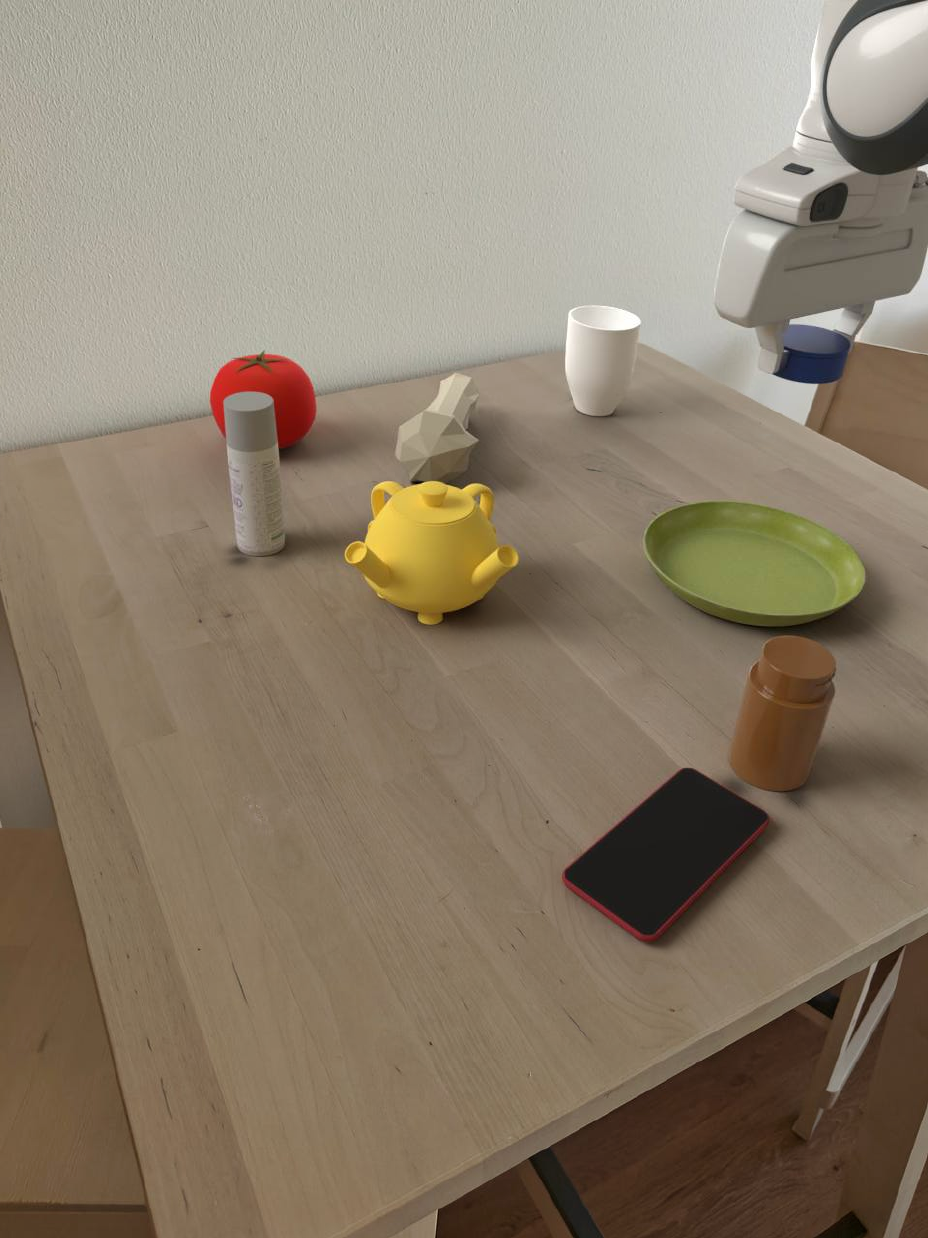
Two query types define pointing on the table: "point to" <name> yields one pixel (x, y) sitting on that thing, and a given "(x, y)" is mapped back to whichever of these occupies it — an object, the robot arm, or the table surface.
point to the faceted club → (440, 433)
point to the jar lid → (814, 354)
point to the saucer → (752, 562)
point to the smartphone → (665, 853)
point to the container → (254, 473)
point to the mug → (600, 357)
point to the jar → (783, 713)
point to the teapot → (431, 547)
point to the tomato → (269, 392)
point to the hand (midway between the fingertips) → (803, 361)
